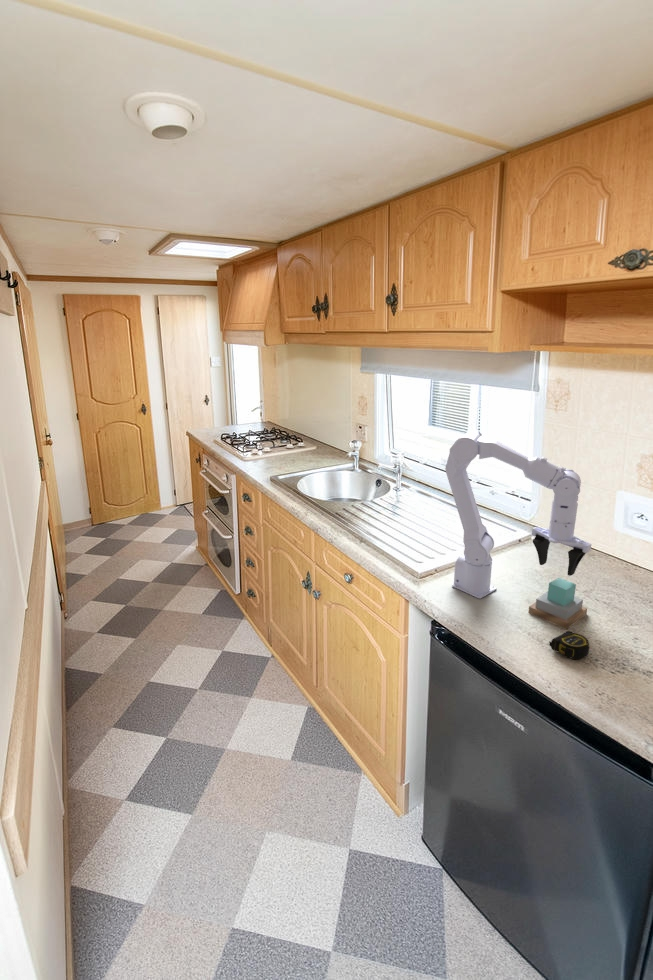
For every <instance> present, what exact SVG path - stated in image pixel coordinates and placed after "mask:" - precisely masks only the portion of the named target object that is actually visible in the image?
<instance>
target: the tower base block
mask: <svg viewBox="0 0 653 980" xmlns="http://www.w3.org/2000/svg"><path fill="white" fill-rule="evenodd" d="M535 607H536V601H535V602H534V603H533V604H531V605H529V606H528V614H531V615H534V616H536V617H538V618H540V619H542V620H544V621H547V622H549V623H551V624H554V625H556V626H558V627H560V628H563V629H565V630H568V629H569V628H571V626H573V625H575V623H577V622H579V621H580V620H581V619H582V618H584V617H585V616H587V612H588V608H587V607H586V606H585V607H584V606H583V605H582V609H580V610H579V611H578V612H577V613H575V614H574V615H573V616H571V617H570V618H569V619H568V620H564V619H562V618H559V617H557V616H554V615H552V614H550V613H547V612H545V611H542V610H540V609H538V608H535Z"/></svg>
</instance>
